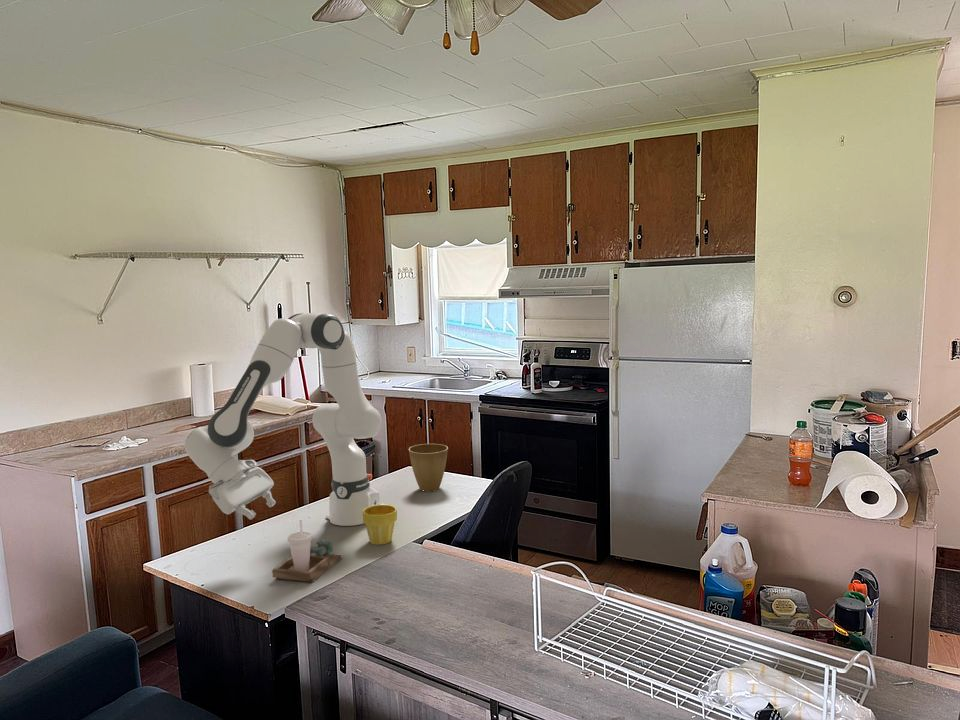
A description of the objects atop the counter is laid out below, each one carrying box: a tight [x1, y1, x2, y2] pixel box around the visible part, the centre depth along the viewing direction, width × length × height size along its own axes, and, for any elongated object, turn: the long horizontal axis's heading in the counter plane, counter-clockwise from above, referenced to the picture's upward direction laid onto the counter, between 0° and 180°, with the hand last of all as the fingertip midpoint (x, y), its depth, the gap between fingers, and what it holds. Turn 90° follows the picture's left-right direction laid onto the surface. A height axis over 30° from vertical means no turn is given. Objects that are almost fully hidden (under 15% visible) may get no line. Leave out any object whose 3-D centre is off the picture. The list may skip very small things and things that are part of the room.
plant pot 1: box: [363, 504, 398, 545], centre depth 205 cm, size 10×10×10 cm
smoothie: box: [287, 519, 313, 572], centre depth 182 cm, size 6×6×14 cm
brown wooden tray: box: [271, 540, 342, 583], centre depth 187 cm, size 20×11×4 cm, turn 164°
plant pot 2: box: [408, 443, 449, 492], centre depth 256 cm, size 15×15×16 cm
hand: (263, 511), depth 188 cm, fingers open, 8 cm apart
